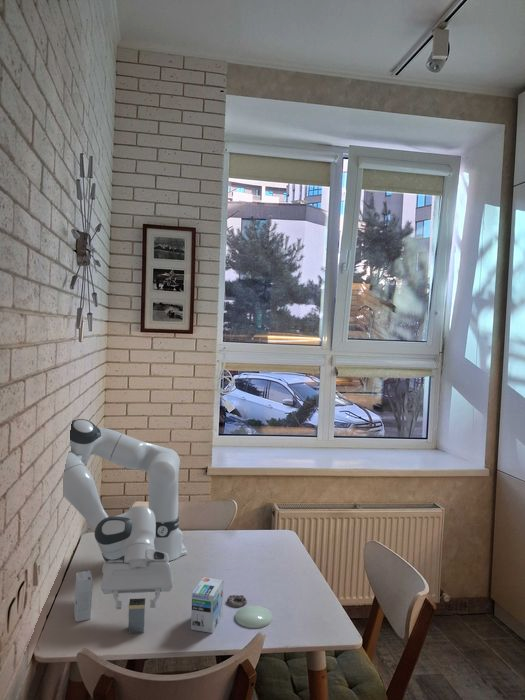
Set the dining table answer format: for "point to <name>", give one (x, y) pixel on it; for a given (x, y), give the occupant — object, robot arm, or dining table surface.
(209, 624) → the light bulb box
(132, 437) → the robot arm
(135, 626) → the tea tin
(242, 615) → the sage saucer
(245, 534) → the dining table surface
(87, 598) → the skincare box
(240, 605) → the donut
